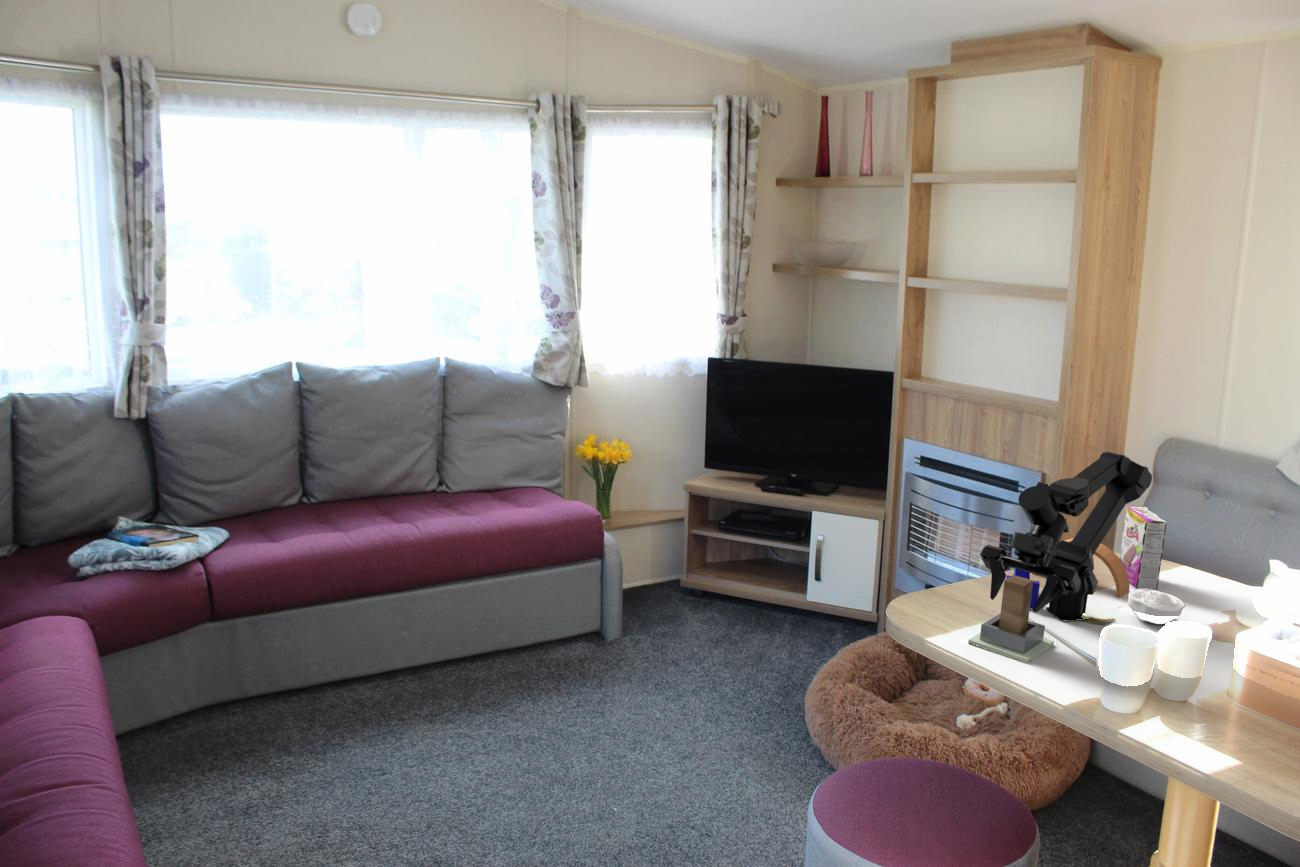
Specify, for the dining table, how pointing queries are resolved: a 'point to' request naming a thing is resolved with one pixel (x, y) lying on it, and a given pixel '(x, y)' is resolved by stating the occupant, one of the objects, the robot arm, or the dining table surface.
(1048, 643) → the base plate
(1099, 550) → the arch
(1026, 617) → the walnut post
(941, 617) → the dining table surface
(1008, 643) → the steel collar
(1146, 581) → the candy bar box
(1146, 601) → the cell model
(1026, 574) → the cable clip
